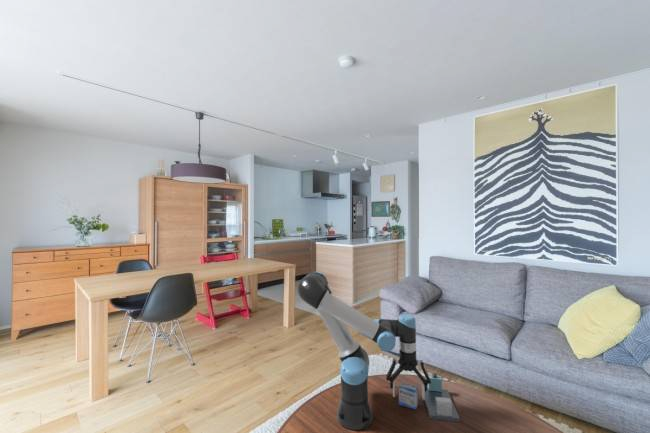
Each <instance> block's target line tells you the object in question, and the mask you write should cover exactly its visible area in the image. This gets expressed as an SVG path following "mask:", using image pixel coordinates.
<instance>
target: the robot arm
mask: <svg viewBox="0 0 650 433" xmlns="http://www.w3.org/2000/svg"><path fill="white" fill-rule="evenodd" d="M297 293H298V296H299V298H300V299H301V300H302V301H304V303H306V304H307V305H309V306H311V307H312V308H314V309H315V310H317V312H318V313H319V315H320V317H321V319H322V321H323V324H324V325H325V327H326V329H327V331H328V332H329V335H330V336H331V338H332V340H333V342H334V344H335V345H336V347H337V349H338V355H337V356H338V359H339V360H340V362H341V365H340V369H339V371H340V372H339V373H340V401H339V403H338V407H337V410H336V419H337V422H338V421H339V422H338V423H339V424H340V426H342V427H343V426H344V427H343V428H345V429H348V430H351V431H360V430H361V431H362V430H365V429H367V428H368V427H370V425H371V424H372V422H373V412H372V408H371V406H370V402H369V384H368V383H369V369H370V358H369V354H368V352H367V351H366V350H365V349H364V348H363V347H361V344H360V343H359V342H358V341H355V340H354V338H353V336H352V333H351V332H350V331H349V328H351V329H353V330H355V331H357V332H358V333H360V334H361V335H362V336H365V337H366V338H368V339H370V340H371V341H372V342H374V343H376V344H377V346H378V348H379V349H380V350H381V351H383V352H391V351H393V350H394V349H395V346H396V338H398V340H399V345H398V347H399V356H398V357H399V358H398V359H395V358H392V363H391V365H390V367H389V369H388V372H387V373H386V376H385V377H386V378H385V379H386V381H389V384H390V389H392V397H393V398H395V397H396V394H395V393H396V392H395V390H396V388H395V387H396V385H395V384H396V383H395V380H396V379H397V378H398V376H399V375H400V374H401V373H402V372H403V371H404V372H408V371H409V372H414V373H415V374H416V375H417V377H418V378H419V379H420V380H421V397H422V400H424V401H425V391H427V388H428V384H431V381H430V378H429V376H428V375H429V374H428V372H427V369H426V368H425V366H424V365H425V364H424V361H423V359H420V360H419V361H418V360H417V326H416V318H415V317H414V316H413V315H410V314H400V315H399V316H398V319H389V318H386V319H385V318H374V319H372V318H371V317H369V316H367V315H366V314H364V313H363V312H360V311H359V310H357V309H356V308H354V307H353V306H350V305H348V303H346V302H344V301H342V300H340V299H339V298H337V297H336V296H334V295H332V294H333V292H332V290H331V289H330V287H329V281H328V278H327V277H326V276H325V274H324V273H322V272H319V271H313V272H310V273H308V274H306V275H305V276H304V277H303V278H302V279H301V280H300V281H299V282H298V284H297ZM347 326H348V327H349V328H348V327H347ZM398 365H399V366H398ZM396 366H398V367H397V369H396V370H395V368H396ZM417 366H418V367H420V368H421V370H422V372H423V375H424V376H425V377H424V376H423V375H422V373H421V372H420V370H418V368H417ZM394 370H395V371H394Z"/></svg>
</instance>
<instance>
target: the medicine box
mask: <svg viewBox="0 0 650 433" xmlns="http://www.w3.org/2000/svg"><path fill="white" fill-rule="evenodd" d="M418 392H419V387H418V385H414V384H410V383H406V382H402V381H401V382H400V384H399V385H398V405H399V406H402V407H405V408H409V409H413V410H417V407H418V404H419V401H418V399H419V396H418V394H419V393H418Z"/></svg>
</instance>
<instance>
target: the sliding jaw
mask: <svg viewBox="0 0 650 433" xmlns="http://www.w3.org/2000/svg"><path fill="white" fill-rule="evenodd" d="M428 376H429V378H430V381H431V384H427V388H428V389H429V391H439V392H442V389H443V379H442V376H441V375H438V374H437V372H436V373H435V372H432V374H431V375H429V374H428Z"/></svg>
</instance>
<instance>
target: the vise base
mask: <svg viewBox="0 0 650 433" xmlns="http://www.w3.org/2000/svg"><path fill="white" fill-rule="evenodd" d="M424 403H425V406H426V409H427V412H428V415H429V416H428V417H429V420H438V421H448V422H458V423H460V422H461V419H460V416H459V414H458V411H457V409H456V407H455V405H454V402H453V400H452V397H451V395H450V393H449V391H448V389H443V388H442V392H439V391H429V389H428V387H427V391H425V400H424Z"/></svg>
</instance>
